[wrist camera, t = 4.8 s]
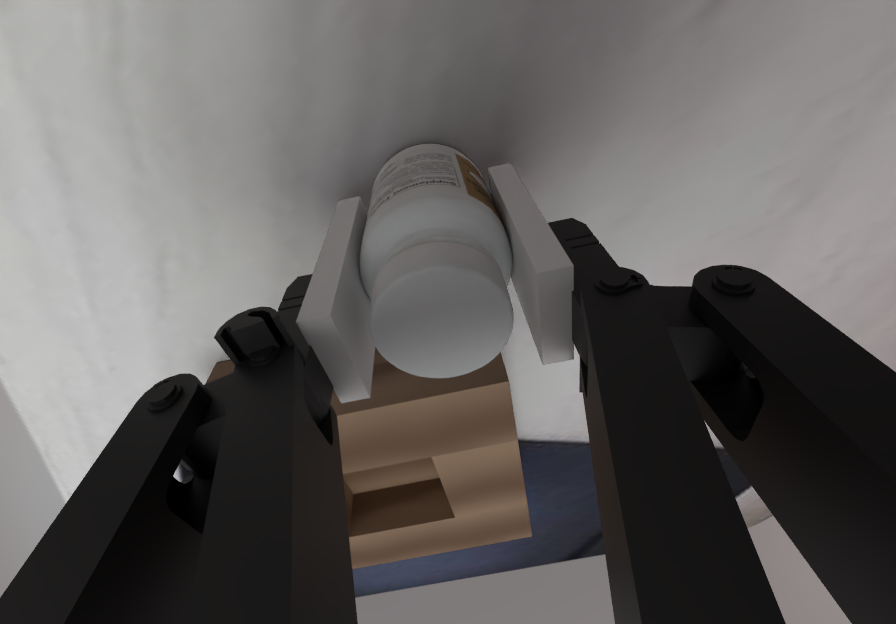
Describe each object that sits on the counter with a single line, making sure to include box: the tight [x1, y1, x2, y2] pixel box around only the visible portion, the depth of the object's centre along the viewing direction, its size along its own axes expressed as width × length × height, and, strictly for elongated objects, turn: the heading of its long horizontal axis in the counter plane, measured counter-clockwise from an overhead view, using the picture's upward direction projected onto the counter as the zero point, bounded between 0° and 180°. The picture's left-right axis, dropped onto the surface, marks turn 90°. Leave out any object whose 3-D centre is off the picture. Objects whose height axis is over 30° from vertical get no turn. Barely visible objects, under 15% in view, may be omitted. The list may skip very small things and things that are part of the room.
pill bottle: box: [360, 144, 514, 378], centre depth 13 cm, size 4×4×8 cm
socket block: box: [206, 347, 532, 569], centre depth 22 cm, size 14×14×5 cm
